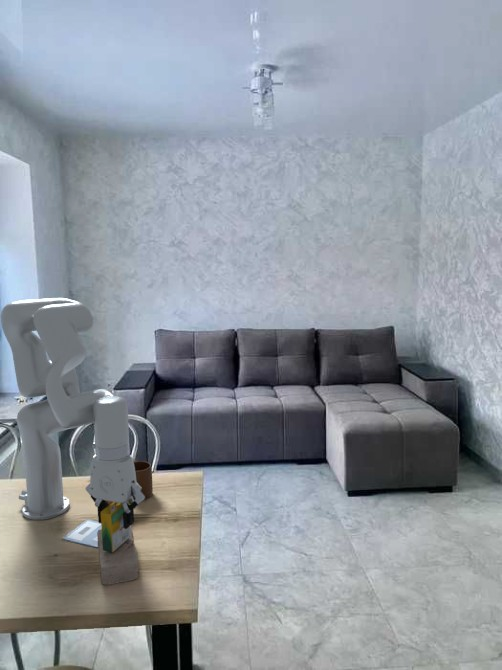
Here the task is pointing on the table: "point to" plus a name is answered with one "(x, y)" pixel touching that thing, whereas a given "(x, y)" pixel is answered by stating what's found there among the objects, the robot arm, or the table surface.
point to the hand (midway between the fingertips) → (116, 522)
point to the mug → (144, 477)
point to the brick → (118, 561)
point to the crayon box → (113, 527)
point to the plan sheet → (85, 534)
